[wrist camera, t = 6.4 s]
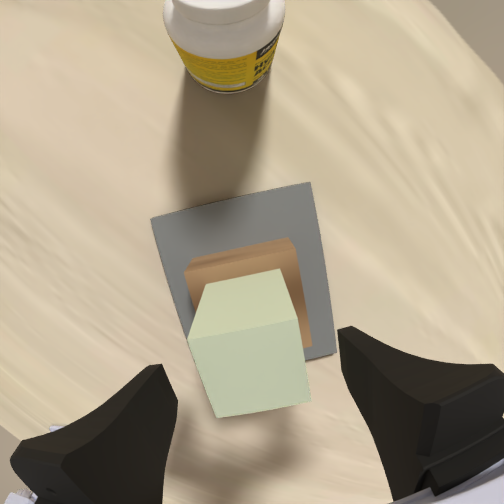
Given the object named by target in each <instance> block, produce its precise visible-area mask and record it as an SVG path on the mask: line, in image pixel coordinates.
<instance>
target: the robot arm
mask: <svg viewBox="0 0 504 504" xmlns="http://www.w3.org/2000/svg"><path fill="white" fill-rule="evenodd" d="M337 332H338V341H339V350H340V360H341V370H342V373H343V376H344V379H345V381H346V384H347V387H348V389H349V391H350V393H351V395H352V397H353V399H354V401H355V403H356V405H357V407H358V408H359V410H360V412H361V414H362V416H363V418H364V420H365V422H366V424H367V425H368V427H369V429H370V432H371V434H372V436H373V439H374V442H375V444H376V447H377V450H378V453H379V455H380V458H381V461H382V464H383V467H384V470H385V474H386V477H387V480H388V483H389V487H390V490H391V494H392V498H393V501H394V502H392V503H389V504H504V418H503V417H502V416H503V413H504V373H503V372H502V371H500V370H499V369H498V368H497V367H496V366H495V365H494V364H454V363H445V362H439V361H434V360H429V359H425V358H421V357H418V356H414V355H411V354H408V353H405V352H403V351H400V350H398V349H395V348H393V347H391V346H389V345H386V344H384V343H382V342H380V341H378V340H376V339H375V338H373V337H371V336H369V335H367V334H366V333H364V332H362V331H360V330H359V329H357V328H355V327H353V326H349V327H346V328H342V329H338V330H337ZM177 407H178V400H177V397H176V395H175V393H174V391H173V389H172V386H171V384H170V382H169V379H168V377H167V375H166V372H165V370H164V368H163V365H162V364H156V365H149V366H147V367H146V368H145V369H143V370H142V371H141V372H140V373H139V374H137V375H136V376H135V377H134V378H133V379H132V380H131V381H130V382H129V383H127V384H126V385H125V386H124V387H123V388H122V389H121V390H119V391H118V392H117V393H116V394H115V395H113V396H112V397H111V398H110V399H108V400H107V401H106V402H105V403H103V404H102V405H101V406H99V407H98V408H97V409H95V410H94V411H92V412H90V413H89V414H87V415H86V416H84V417H82V418H80V419H79V420H77V421H75V422H73V423H71V424H69V425H67V426H65V427H64V426H50V428H49V429H50V431H51V432H50V433H47V434H44V435H41V436H37V437H34V438H30V439H26V440H22V441H21V443H20V444H19V446H18V447H17V449H16V450H15V452H14V453H13V455H12V456H11V458H10V463H11V466H12V468H13V470H14V471H15V473H16V474H17V475H18V477H19V478H20V479H21V480H22V481H23V482H24V483H25V484H26V485H27V486H28V487H29V488H30V490H31V491H32V493H31V492H30V491H29V490H28V489H24V490H23V489H19V490H18V491H17V493H13V492H11V493H10V494H9V496H8V497H7V499H6V501H5V503H4V504H162V499H163V483H164V472H165V465H166V460H167V456H168V452H169V448H170V444H171V440H172V436H173V432H174V428H175V424H176V418H177ZM30 493H31V494H30Z"/></svg>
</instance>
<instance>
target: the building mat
mask: <svg viewBox="0 0 504 504" xmlns="http://www.w3.org/2000/svg"><path fill="white" fill-rule="evenodd" d="M150 220H151V224H152V228H153V231H154V235H155V239H156V242H157V246H158V249H159V253H160V257H161V260H162V263H163V267H164V270H165V274H166V277H167V280H168V283H169V287H170V290H171V293H172V296H173V299H174V303H175V306H176V309H177V312H178V315H179V318H180V321H181V324H182V327H183V330H184V333H185V335H186V338H188V335H189V332H190V329H191V326H192V323H193V320H194V317H195V314H196V312H195V309H194V306H193V302H192V299H191V296H190V292H189V289H188V286H187V282H186V279H185V275H184V272H185V270H186V268H187V267H188V265H189V263H190V262H191V260H192V258H196V257H200V256H205V255H209V254H214V253H218V252H223V251H227V250H232V249H236V248H241V247H245V246H250V245H254V244H259V243H264V242H268V241H273V240H277V239H282V238H286V237H288V238H289V239H290V241H291V242H292V244H293V245H294V247H295V248H296V254H297V259H298V264H299V270H300V275H301V281H302V286H303V292H304V298H305V303H306V309H307V315H308V321H309V327H310V333H311V340H312V346H311V347H306V348H303V352H304V358H305V360H309V359H313V358H317V357H321V356H325V355H329V354H333V353H337V348H336V340H335V331H334V323H333V315H332V308H331V300H330V293H329V286H328V280H327V273H326V266H325V260H324V254H323V248H322V242H321V236H320V230H319V225H318V219H317V214H316V208H315V203H314V198H313V193H312V188H311V183H310V182H306V183H301V184H296V185H291V186H286V187H281V188H276V189H271V190H267V191H262V192H257V193H253V194H248V195H244V196H239V197H235V198H231V199H226V200H222V201H218V202H213V203H209V204H205V205H201V206H197V207H193V208H189V209H185V210H181V211H177V212H173V213H169V214H165V215H161V216H157V217H154V218H151V219H150Z"/></svg>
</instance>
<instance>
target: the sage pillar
mask: <svg viewBox="0 0 504 504" xmlns="http://www.w3.org/2000/svg"><path fill="white" fill-rule="evenodd" d="M187 341H188V344H189V347H190V350H191V353H192V355H193V358H194V361H195V364H196V366H197V369H198V372H199V374H200V377H201V380H202V382H203V385H204V388H205V390H206V393H207V395H208V398H209V400H210V403H211V405H212V408H213V410H214V413H215V415H216V418H221V417H229V416H236V415H243V414H249V413H255V412H261V411H267V410H272V409H278V408H283V407H288V406H293V405H297V404H302V403H306V402H311V401H312V400H311V394H310V388H309V382H308V376H307V370H306V364H305V358H304V352H303V346H302V340H301V335H300V329H299V323H298V318H297V315H296V312H295V309H294V307H293V304H292V301H291V298H290V295H289V292H288V290H287V287H286V284H285V281H284V278H283V276H282V273H281V270H280V269H275V270H270V271H266V272H261V273H257V274H252V275H247V276H242V277H238V278H233V279H228V280H223V281H219V282H214V283H209V284H206V285H205V288H204V291H203V294H202V297H201V300H200V303H199V305H198V308H197V311H196V314H195V317H194V320H193V323H192V326H191V329H190V332H189V335H188V338H187Z"/></svg>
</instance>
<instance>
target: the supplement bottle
mask: <svg viewBox="0 0 504 504" xmlns="http://www.w3.org/2000/svg"><path fill="white" fill-rule="evenodd" d="M284 17H285V0H165V3H164V7H163V21H164V25H165V27H166V30H167V33H168V35H169V37H170V39H171V40H172V42H173V44H174V46H175V48H176V49H177V51H178V53H179V55H180V57H181V59H182V61H183V63H184V64H185V66H186V68H187V70H188V72H189V74H190V75H191V76H192V78H193V79H194V80H195V81H196V82H197V83H198V84H199V85H201V86H202V87H204V88H205V89H207V90H210V91H213V92H216V93H222V94H232V93H239V92H242V91H245V90H248V89H250V88H252V87H254V86H255V85H257V84H258V83H259V82H260V81H261V80H262V79H263V78H264V77H265V76H266V74H267V73H268V71H269V69H270V67H271V64H272V61H273V57H274V54H275V50H276V46H277V43H278V39H279V35H280V32H281V29H282V25H283V22H284Z"/></svg>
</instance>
